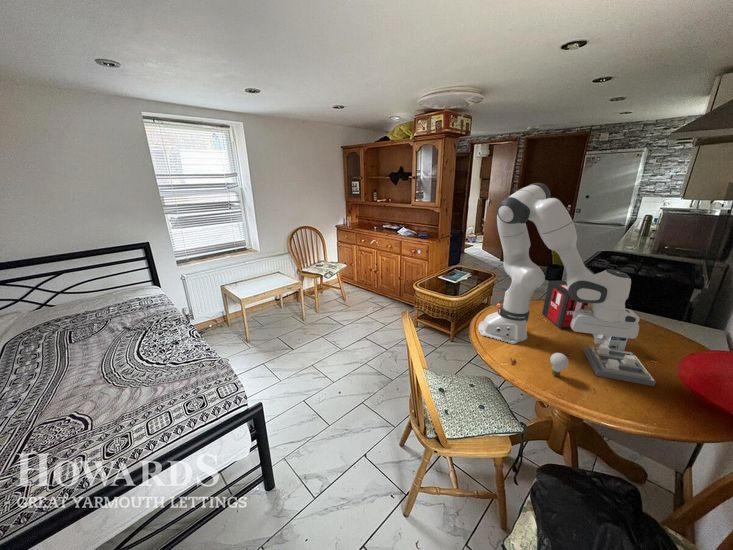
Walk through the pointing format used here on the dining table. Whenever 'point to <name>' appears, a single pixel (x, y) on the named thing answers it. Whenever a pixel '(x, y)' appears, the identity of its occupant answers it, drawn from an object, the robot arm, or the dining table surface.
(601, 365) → the switch bank
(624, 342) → the light bulb box
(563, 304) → the cleaning product box
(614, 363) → the tab front
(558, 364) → the light bulb
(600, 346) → the tab rear
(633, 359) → the tab middle
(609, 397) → the dining table surface
